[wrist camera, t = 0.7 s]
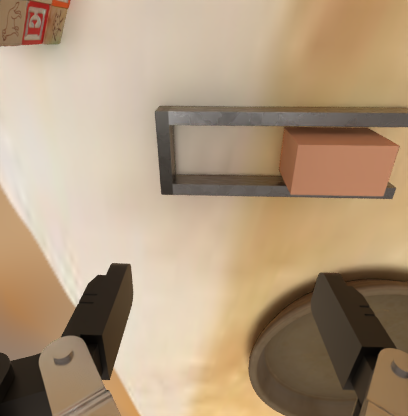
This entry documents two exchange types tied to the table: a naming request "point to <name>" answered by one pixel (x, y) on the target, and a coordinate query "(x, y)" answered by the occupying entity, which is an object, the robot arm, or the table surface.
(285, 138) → the block
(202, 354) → the table surface
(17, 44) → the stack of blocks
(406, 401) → the robot arm
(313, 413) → the plant saucer
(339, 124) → the rectangular frame
